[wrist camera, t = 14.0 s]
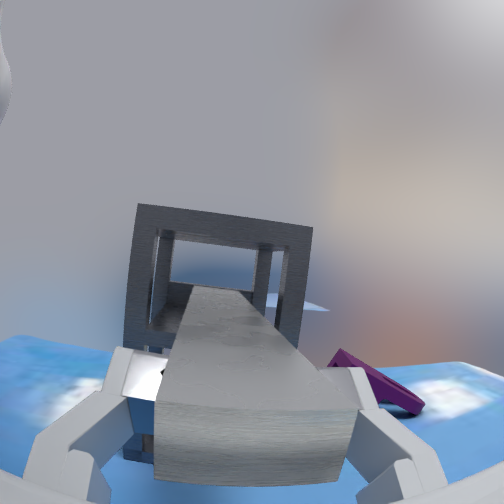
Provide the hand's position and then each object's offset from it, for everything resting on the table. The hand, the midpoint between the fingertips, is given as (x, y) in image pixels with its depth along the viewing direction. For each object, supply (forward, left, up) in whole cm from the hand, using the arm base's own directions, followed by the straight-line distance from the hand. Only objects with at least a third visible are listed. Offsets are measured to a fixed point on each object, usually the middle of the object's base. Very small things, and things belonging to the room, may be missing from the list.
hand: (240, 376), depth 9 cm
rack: (0, +29, -19) cm, 35 cm away
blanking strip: (0, +9, -1) cm, 9 cm away
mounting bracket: (+29, +35, -19) cm, 49 cm away
